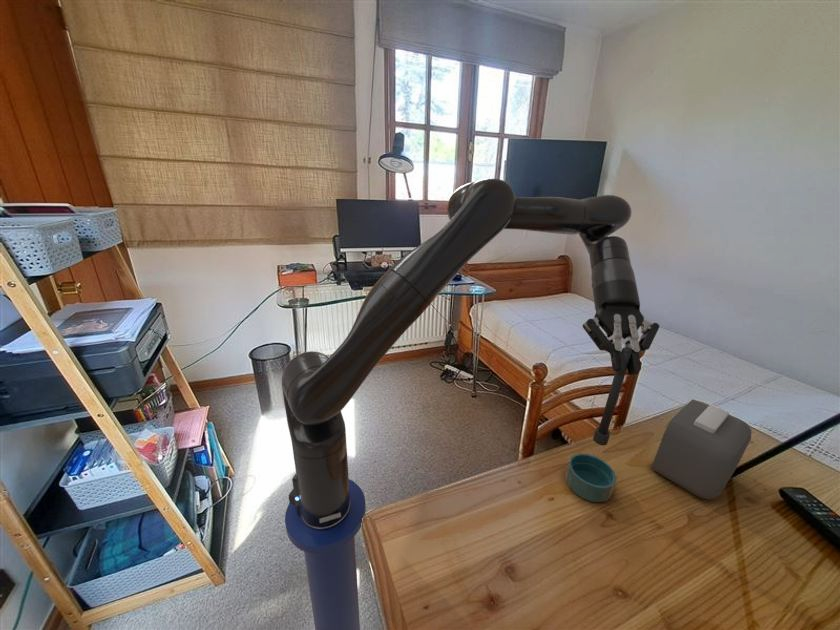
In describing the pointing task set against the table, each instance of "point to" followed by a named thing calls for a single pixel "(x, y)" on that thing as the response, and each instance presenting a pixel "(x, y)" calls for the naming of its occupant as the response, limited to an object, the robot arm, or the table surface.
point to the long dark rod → (611, 403)
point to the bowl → (590, 477)
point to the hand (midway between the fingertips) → (627, 373)
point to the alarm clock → (702, 449)
